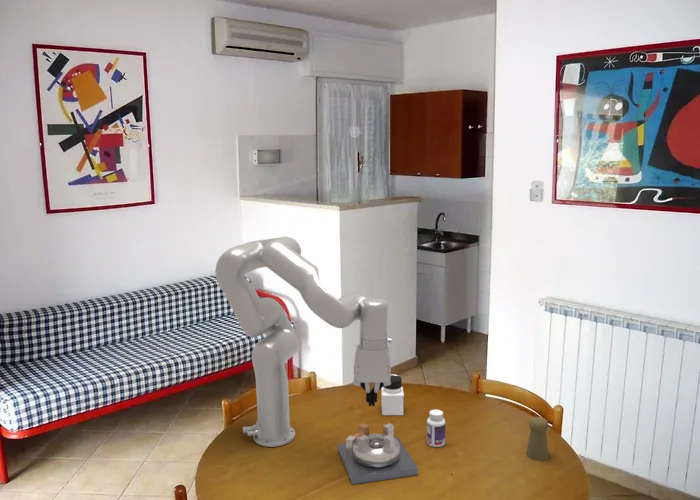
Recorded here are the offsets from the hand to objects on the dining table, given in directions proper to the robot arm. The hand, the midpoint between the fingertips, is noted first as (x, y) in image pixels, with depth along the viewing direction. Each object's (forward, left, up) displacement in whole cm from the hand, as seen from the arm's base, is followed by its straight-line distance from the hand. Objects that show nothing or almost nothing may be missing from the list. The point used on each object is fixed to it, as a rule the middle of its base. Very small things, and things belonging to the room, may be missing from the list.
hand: (371, 404), depth 171 cm
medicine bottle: (+14, +25, -15) cm, 32 cm away
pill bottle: (+20, +1, -15) cm, 25 cm away
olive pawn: (+45, -13, -15) cm, 49 cm away
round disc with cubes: (-1, -4, -13) cm, 13 cm away
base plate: (0, -5, -15) cm, 16 cm away
